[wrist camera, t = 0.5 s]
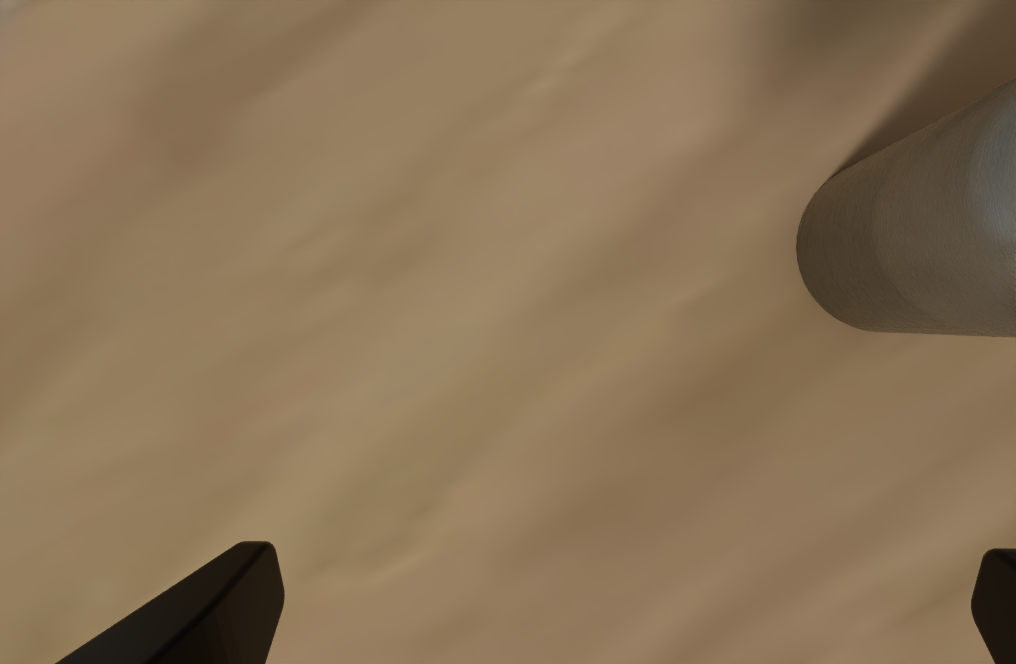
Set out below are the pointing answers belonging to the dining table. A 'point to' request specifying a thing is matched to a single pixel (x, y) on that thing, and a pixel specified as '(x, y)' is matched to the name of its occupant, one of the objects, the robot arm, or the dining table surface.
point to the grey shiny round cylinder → (922, 229)
